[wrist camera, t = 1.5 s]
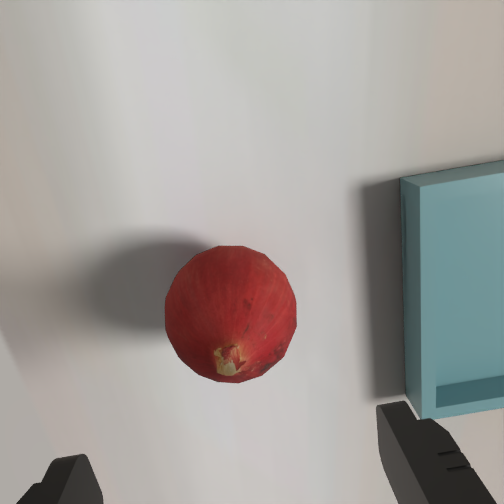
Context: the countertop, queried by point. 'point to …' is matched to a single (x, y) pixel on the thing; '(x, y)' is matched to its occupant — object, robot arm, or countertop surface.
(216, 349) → the onion
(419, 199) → the tray
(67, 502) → the robot arm
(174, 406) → the countertop surface
